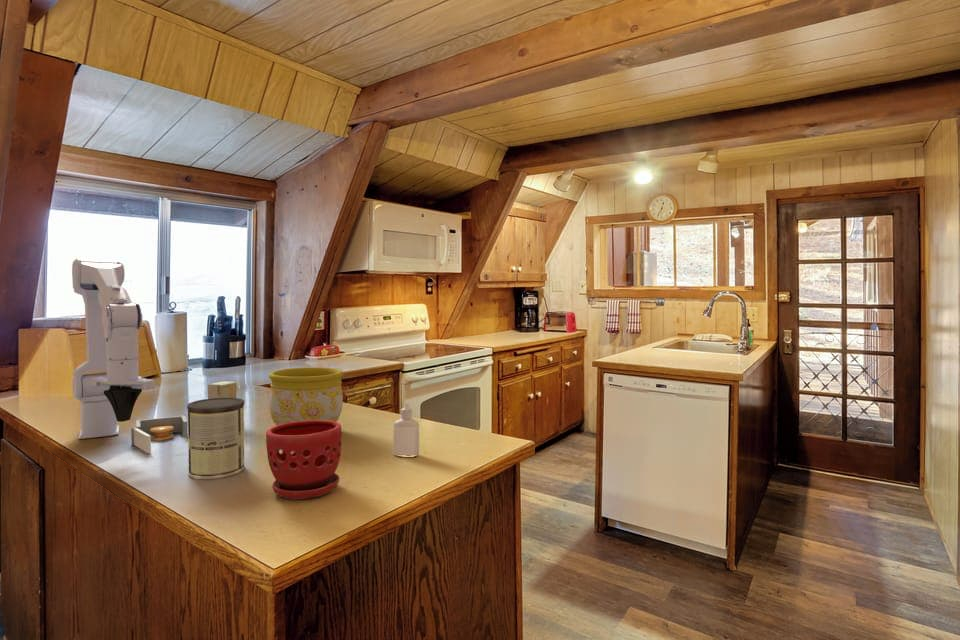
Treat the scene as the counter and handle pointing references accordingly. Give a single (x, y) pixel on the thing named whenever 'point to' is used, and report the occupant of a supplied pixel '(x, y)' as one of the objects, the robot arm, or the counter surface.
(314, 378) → the flowerpot
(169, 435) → the door knob
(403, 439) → the eye dropper bottle
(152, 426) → the open grey tray
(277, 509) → the counter surface
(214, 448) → the coffee can
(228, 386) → the skincare box
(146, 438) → the cover
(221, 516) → the counter surface
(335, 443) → the plant pot
